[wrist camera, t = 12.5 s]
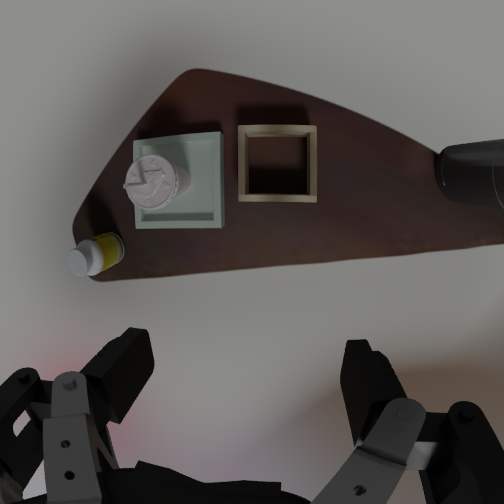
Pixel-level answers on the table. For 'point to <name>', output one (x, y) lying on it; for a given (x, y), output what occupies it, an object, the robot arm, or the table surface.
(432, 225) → the table surface
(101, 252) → the supplement bottle
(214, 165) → the tray
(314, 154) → the holder
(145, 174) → the smoothie
